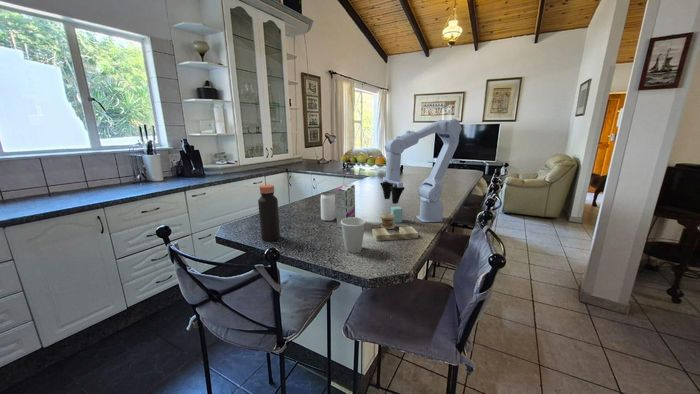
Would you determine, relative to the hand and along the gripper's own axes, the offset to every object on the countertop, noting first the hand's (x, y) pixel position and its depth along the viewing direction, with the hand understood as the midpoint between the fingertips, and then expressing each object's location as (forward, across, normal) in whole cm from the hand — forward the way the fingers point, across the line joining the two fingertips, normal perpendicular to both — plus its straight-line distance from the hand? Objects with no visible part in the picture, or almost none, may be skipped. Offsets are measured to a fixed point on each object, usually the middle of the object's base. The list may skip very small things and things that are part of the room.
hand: (390, 201), depth 116 cm
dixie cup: (+11, +19, -23) cm, 32 cm away
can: (+11, -15, -23) cm, 30 cm away
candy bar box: (+11, -6, -18) cm, 22 cm away
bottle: (+12, 0, -49) cm, 51 cm away
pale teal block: (+10, -2, +4) cm, 11 cm away
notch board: (+10, +13, -4) cm, 17 cm away
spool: (+10, +4, -3) cm, 11 cm away
